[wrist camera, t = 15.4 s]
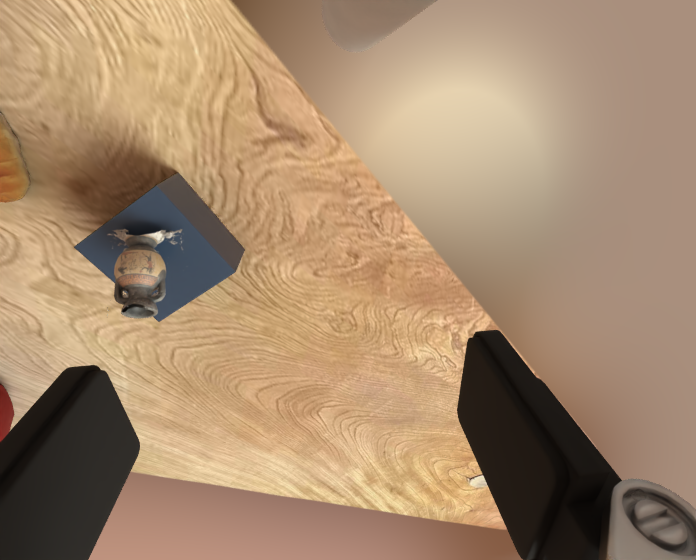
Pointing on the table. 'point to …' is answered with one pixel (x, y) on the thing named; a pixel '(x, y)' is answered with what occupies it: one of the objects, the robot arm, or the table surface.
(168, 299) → the block
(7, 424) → the apple
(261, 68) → the table surface
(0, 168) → the pastry
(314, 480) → the table surface
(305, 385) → the table surface
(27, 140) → the table surface
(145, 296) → the vase
